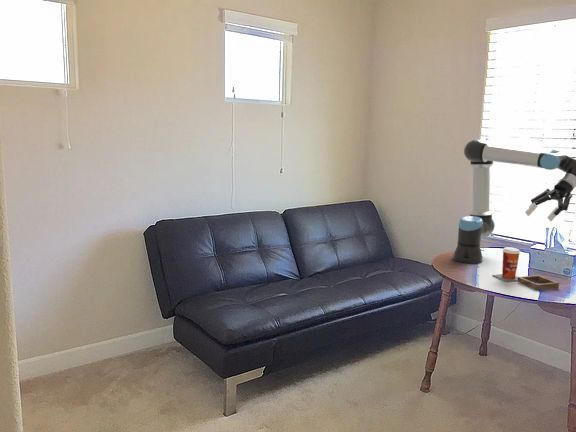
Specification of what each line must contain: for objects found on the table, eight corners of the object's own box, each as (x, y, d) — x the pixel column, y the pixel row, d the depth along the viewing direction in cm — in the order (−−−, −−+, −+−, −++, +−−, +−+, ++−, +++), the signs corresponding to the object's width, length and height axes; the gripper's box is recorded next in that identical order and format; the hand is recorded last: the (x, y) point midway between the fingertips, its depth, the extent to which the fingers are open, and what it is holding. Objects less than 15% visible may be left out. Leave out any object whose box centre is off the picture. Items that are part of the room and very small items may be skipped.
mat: (492, 276, 239) (492, 274, 238) (509, 274, 242) (509, 273, 241) (507, 282, 229) (507, 281, 229) (524, 280, 232) (524, 279, 232)
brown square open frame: (517, 282, 230) (517, 277, 229) (537, 280, 233) (538, 275, 233) (537, 290, 219) (537, 285, 218) (558, 288, 222) (559, 282, 222)
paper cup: (507, 280, 230) (510, 251, 228) (496, 275, 238) (499, 247, 235) (521, 279, 233) (524, 250, 230) (509, 274, 240) (512, 246, 237)
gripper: (592, 193, 225) (563, 227, 224) (549, 186, 249) (522, 217, 247) (585, 182, 223) (555, 216, 221) (542, 176, 246) (514, 207, 244)
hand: (537, 216), depth 234 cm, fingers open, 13 cm apart
